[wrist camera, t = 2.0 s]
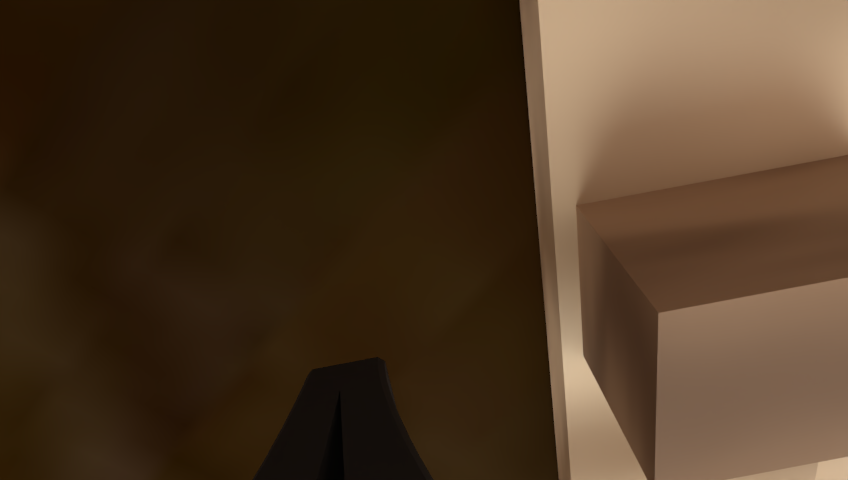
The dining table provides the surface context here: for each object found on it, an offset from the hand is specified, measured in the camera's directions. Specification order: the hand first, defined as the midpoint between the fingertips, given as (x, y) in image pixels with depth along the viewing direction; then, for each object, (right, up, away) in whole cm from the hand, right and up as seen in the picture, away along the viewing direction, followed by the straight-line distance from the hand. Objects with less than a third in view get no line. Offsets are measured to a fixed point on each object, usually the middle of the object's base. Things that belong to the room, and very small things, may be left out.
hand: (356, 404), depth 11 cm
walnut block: (+8, +3, +2) cm, 8 cm away
